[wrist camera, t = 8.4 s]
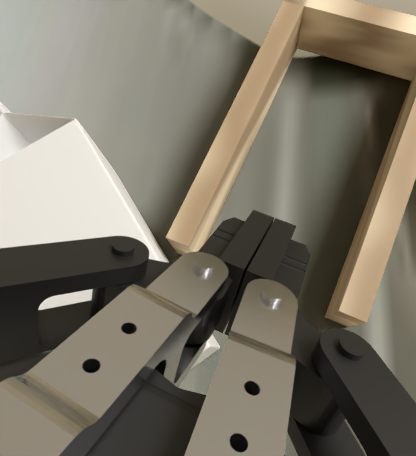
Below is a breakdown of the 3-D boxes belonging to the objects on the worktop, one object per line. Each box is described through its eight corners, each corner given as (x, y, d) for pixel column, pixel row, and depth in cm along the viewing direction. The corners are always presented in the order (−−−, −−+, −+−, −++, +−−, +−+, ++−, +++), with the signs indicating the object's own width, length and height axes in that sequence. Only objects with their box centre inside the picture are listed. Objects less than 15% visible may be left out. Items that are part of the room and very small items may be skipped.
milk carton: (222, 350, 24) (92, 133, 30) (213, 349, 18) (48, 71, 24) (125, 413, 24) (12, 180, 30) (77, 438, 17) (-57, 130, 23)
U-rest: (177, 253, 27) (165, 237, 23) (286, 29, 32) (291, -15, 28) (347, 327, 24) (366, 322, 20) (437, 71, 29) (466, 29, 25)
